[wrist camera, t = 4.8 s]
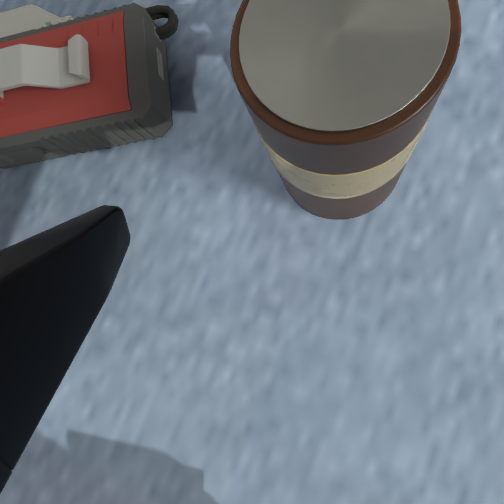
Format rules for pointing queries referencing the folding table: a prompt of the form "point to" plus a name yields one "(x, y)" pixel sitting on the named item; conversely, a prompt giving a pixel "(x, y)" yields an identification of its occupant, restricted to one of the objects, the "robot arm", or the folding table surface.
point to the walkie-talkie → (81, 81)
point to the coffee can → (342, 90)
